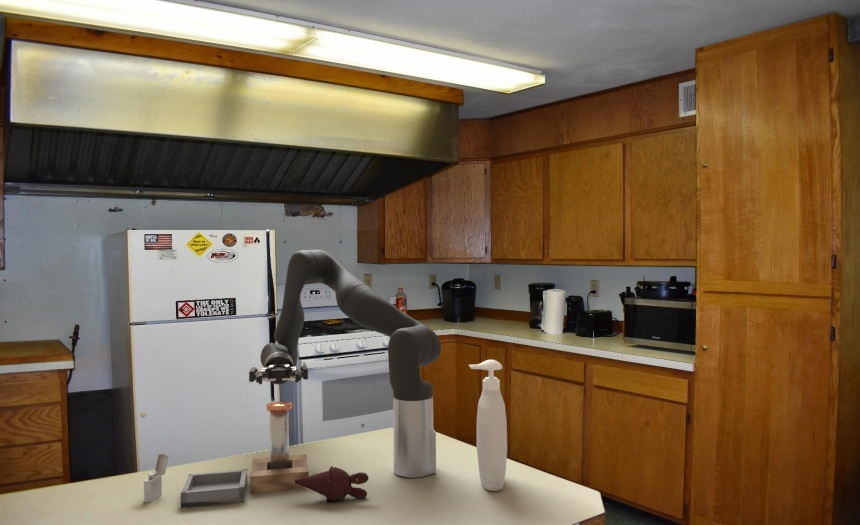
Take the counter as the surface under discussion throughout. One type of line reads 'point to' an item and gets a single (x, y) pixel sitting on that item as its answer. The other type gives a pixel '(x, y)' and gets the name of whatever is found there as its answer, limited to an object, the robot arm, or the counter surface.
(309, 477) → the icecream
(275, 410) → the pin
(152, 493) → the lighter
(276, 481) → the hitch block
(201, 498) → the tray
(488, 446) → the soap bottle
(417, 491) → the counter surface
